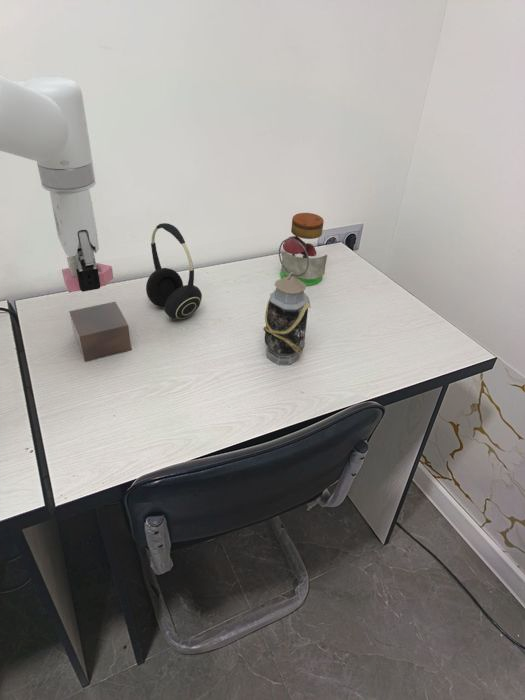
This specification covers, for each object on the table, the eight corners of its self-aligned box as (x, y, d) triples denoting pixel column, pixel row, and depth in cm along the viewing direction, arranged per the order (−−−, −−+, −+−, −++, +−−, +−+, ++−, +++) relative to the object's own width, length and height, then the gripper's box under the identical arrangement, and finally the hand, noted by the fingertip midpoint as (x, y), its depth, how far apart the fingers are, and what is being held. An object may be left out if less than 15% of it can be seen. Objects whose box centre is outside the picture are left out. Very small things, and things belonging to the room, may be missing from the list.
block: (84, 362, 93) (79, 336, 90) (74, 335, 99) (69, 311, 96) (131, 350, 97) (128, 325, 93) (118, 325, 103) (115, 301, 99)
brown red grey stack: (270, 264, 128) (274, 209, 118) (317, 263, 130) (325, 208, 121) (279, 288, 119) (285, 230, 109) (329, 286, 121) (339, 229, 112)
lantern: (311, 356, 99) (330, 241, 83) (285, 374, 94) (299, 256, 79) (279, 337, 103) (291, 224, 88) (252, 353, 98) (259, 237, 83)
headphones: (172, 290, 115) (167, 208, 103) (211, 320, 107) (210, 234, 94) (140, 302, 110) (130, 217, 98) (177, 334, 102) (172, 245, 90)
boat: (68, 292, 81) (63, 266, 78) (64, 281, 83) (58, 256, 80) (116, 283, 84) (112, 258, 81) (110, 273, 86) (107, 248, 84)
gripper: (31, 158, 76) (55, 264, 88) (50, 197, 65) (74, 313, 76) (81, 154, 79) (98, 257, 91) (107, 191, 68) (123, 303, 79)
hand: (87, 281), depth 83 cm, fingers closed on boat, 3 cm apart
